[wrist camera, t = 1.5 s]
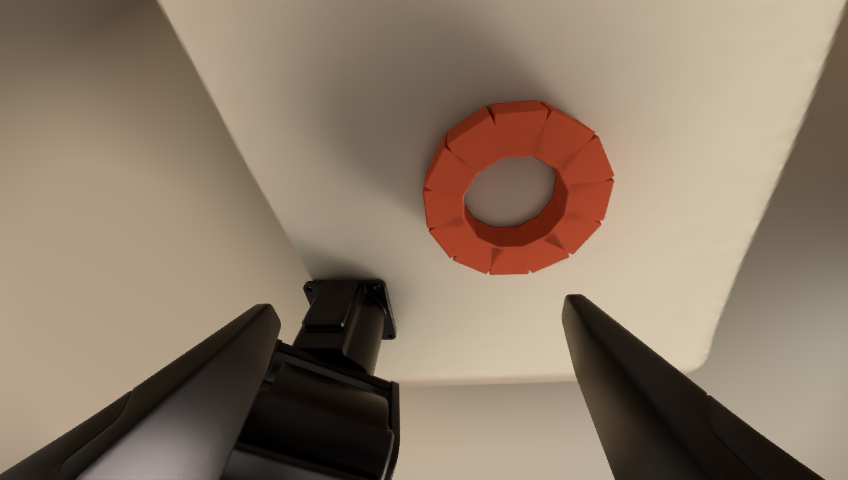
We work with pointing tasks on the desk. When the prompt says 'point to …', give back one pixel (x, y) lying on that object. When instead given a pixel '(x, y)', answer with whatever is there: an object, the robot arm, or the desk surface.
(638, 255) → the desk surface
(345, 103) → the desk surface
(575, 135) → the orange faceted ring
